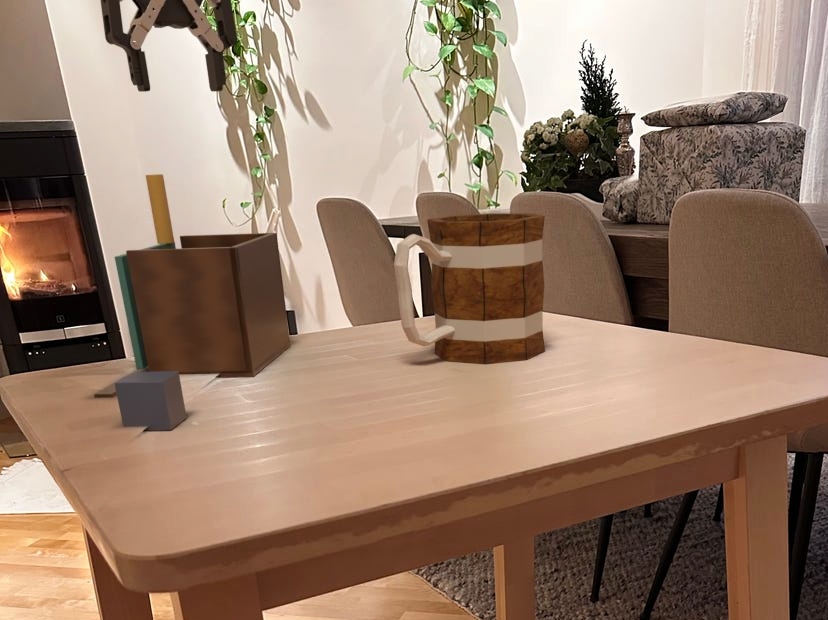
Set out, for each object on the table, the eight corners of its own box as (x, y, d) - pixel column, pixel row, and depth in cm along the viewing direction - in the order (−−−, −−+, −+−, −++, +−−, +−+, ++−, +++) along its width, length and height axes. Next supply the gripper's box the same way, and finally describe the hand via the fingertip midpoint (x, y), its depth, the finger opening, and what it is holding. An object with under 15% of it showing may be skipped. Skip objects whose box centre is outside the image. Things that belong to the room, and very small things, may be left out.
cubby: (95, 401, 99) (64, 262, 93) (185, 348, 124) (165, 236, 118) (226, 399, 98) (204, 258, 92) (290, 346, 123) (276, 232, 117)
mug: (494, 337, 124) (491, 211, 117) (568, 350, 114) (569, 215, 107) (370, 361, 113) (358, 224, 106) (440, 378, 104) (432, 229, 97)
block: (124, 431, 88) (113, 382, 86) (141, 418, 92) (132, 371, 90) (171, 430, 88) (162, 381, 86) (187, 418, 92) (178, 370, 90)
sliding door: (131, 369, 108) (93, 179, 99) (181, 341, 123) (152, 174, 114) (148, 369, 108) (112, 179, 99) (196, 341, 123) (168, 173, 114)
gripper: (204, -74, 106) (226, 93, 114) (74, -87, 99) (107, 93, 106) (232, -87, 101) (253, 89, 108) (97, -101, 93) (130, 89, 101)
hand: (181, 91), depth 107 cm, fingers open, 8 cm apart
